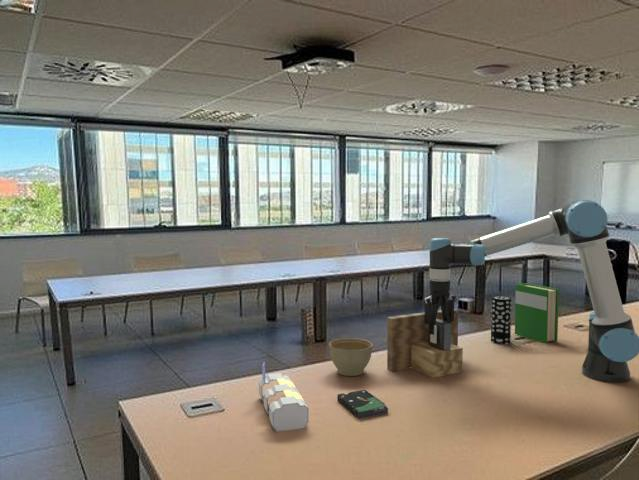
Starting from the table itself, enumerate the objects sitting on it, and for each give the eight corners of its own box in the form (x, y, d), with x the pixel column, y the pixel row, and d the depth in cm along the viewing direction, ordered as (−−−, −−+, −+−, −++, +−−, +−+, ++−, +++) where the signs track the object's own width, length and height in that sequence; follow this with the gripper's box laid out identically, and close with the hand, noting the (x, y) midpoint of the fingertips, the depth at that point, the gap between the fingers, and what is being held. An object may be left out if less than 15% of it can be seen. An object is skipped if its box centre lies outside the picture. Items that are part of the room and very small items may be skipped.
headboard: (452, 356, 201) (453, 308, 200) (480, 367, 187) (481, 316, 186) (387, 369, 187) (387, 317, 185) (412, 382, 173) (412, 326, 171)
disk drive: (336, 402, 157) (358, 420, 144) (336, 394, 157) (358, 411, 144) (364, 397, 162) (389, 414, 148) (364, 389, 161) (389, 405, 148)
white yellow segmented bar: (258, 398, 160) (258, 359, 159) (289, 395, 163) (289, 356, 162) (272, 433, 136) (271, 387, 135) (308, 428, 139) (308, 383, 138)
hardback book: (557, 341, 221) (558, 289, 220) (545, 343, 218) (547, 290, 217) (526, 332, 237) (527, 283, 236) (514, 334, 234) (515, 284, 233)
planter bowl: (380, 376, 179) (380, 347, 178) (339, 382, 173) (339, 352, 172) (360, 363, 194) (360, 335, 193) (322, 368, 188) (322, 340, 187)
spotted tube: (486, 340, 225) (487, 296, 223) (502, 338, 227) (503, 295, 226) (498, 345, 217) (499, 300, 215) (514, 343, 219) (515, 299, 218)
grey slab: (434, 358, 189) (434, 317, 188) (450, 365, 181) (450, 323, 180) (427, 360, 188) (428, 318, 186) (443, 367, 180) (444, 323, 178)
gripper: (451, 276, 189) (450, 336, 191) (414, 280, 181) (413, 342, 183) (465, 279, 183) (464, 340, 184) (427, 283, 175) (426, 347, 176)
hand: (439, 341), depth 184 cm, fingers open, 5 cm apart
